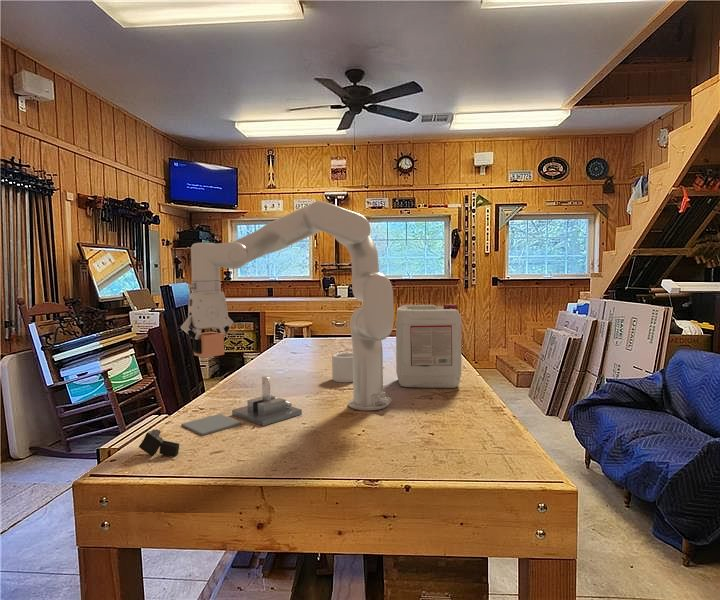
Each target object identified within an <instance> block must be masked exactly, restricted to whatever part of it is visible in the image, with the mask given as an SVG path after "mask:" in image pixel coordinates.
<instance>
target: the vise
mask: <svg viewBox="0 0 720 600" xmlns="http://www.w3.org/2000/svg"><path fill="white" fill-rule="evenodd" d="M261 391H262V392H261V393H262V394H261V396H260V397H255V398H251V399H247V405H246V406H242V407H237V408H235V409H231V413H232V414H231V415H232V416H235V417H237V418H240V419H243V420H246V421H247V422H250V423H253V424H256V425H258V424H259V425H258V426H261V427H266V426H268V424H269V425H272V424H275V423H278V422H282V421H285V420H289V419H291V418H295V417H298V416H302V414H303V411H302V409H301V408H298V407H295V406H292V403H291V402H289V401H287V399H284V398H282V397H278V398H276V396H274V395H271V377H270V376H269V375H266V376H261ZM271 423H272V424H271ZM265 425H266V426H265Z"/></svg>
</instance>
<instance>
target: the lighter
mask: <svg viewBox="0 0 720 600" xmlns="http://www.w3.org/2000/svg"><path fill="white" fill-rule="evenodd" d="M160 435H161V431H160V430H159V429H152V430H149V431H148V432H146V433H145V436H144V437H143V440H142V441H141V443H140V444H139V446H138V448H139V449H141V450H142V451H144V452H145V453H146V454H148V455H149V456H151V457H153V456H154V454H155V455H156V454H157V452H159V454H161V455H162V456H165V457H169V456H173V457H176V456H177V455H179V450H180V449H179V448H180V443H177V442H173V441H168V440H164V439H163V437H161V436H160Z"/></svg>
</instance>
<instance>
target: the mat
mask: <svg viewBox="0 0 720 600" xmlns="http://www.w3.org/2000/svg"><path fill="white" fill-rule="evenodd" d="M242 424H243V422H242V421H239V420H237V419H235V418H232V417H229V416H227V415H224V414H221V413H218V414H214V415H209V416H207V417H202V418H198V419H195V420H191V421H186V422H183V423H181V427H184V428H185V429H188V430H190V431H192V432H194V433H196V434H197V435H200V436H202V437H203V436H206V435H210V434H213V433H217V432H220V431H224V430H228V429H230V428H231V429H232V428H235V427H237V426H241V425H242Z"/></svg>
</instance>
